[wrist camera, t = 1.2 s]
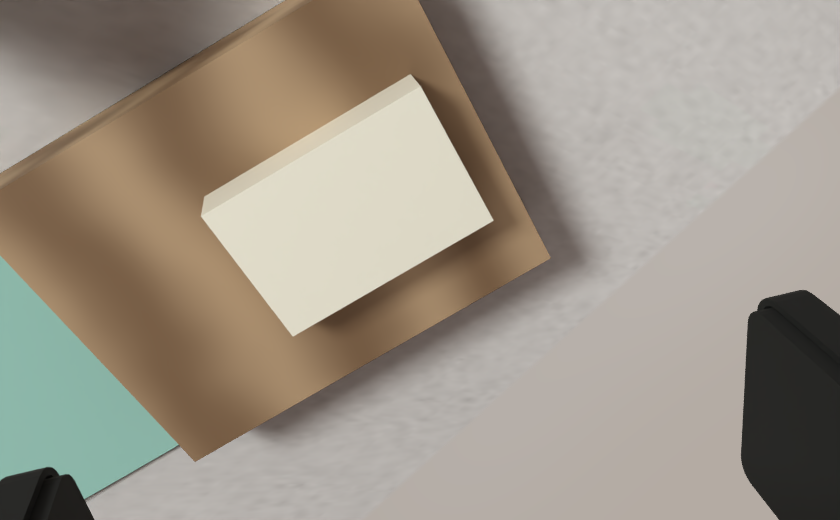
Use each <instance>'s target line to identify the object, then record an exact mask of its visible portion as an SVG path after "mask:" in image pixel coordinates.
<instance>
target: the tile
mask: <svg viewBox="0 0 840 520" xmlns="http://www.w3.org/2000/svg"><path fill="white" fill-rule="evenodd" d="M201 217H202V218H203V220H204V221H205V222H206V224H207V225H208V226H209V228H210V229H211V230H212V232H213V233H214V234H215V235H216V237H217V238H218V239H219V241H220V242H221V243H222V245H223V246H224V247H225V249H226V250H227V251H228V253H229V254H230V255H231V256H232V258H233V259H234V260H235V262H236V263H237V264H238V266H239V267H240V268H241V270H242V271H243V272H244V273H245V275H246V276H247V277H248V279H249V280H250V281H251V283H252V284H253V285H254V287H255V288H256V289H257V290H258V292H259V293H260V294H261V296H262V297H263V298H264V300H265V301H266V302H267V304H268V305H269V306H270V308H271V309H272V310H273V311H274V313H275V314H276V315H277V317H278V318H279V319H280V321H281V322H282V323H283V325H284V326H285V327H286V328H287V330H288V331H289V332H290V334H291V335H292V336H295V335H297V334H298V333H300V332H302V331H304V330H305V329H307V328H309V327H311V326H312V325H314V324H316V323H317V322H319V321H321V320H323V319H324V318H326V317H328V316H330V315H331V314H333V313H335V312H336V311H338V310H340V309H342V308H343V307H345V306H347V305H349V304H350V303H352V302H354V301H355V300H357V299H359V298H361V297H362V296H364V295H366V294H368V293H369V292H371V291H373V290H375V289H376V288H378V287H380V286H381V285H383V284H385V283H387V282H388V281H390V280H392V279H394V278H395V277H397V276H399V275H400V274H402V273H404V272H406V271H407V270H409V269H411V268H413V267H414V266H416V265H418V264H419V263H421V262H423V261H425V260H426V259H428V258H430V257H432V256H433V255H435V254H437V253H439V252H440V251H442V250H444V249H445V248H447V247H449V246H451V245H452V244H454V243H456V242H458V241H459V240H461V239H463V238H464V237H466V236H468V235H470V234H471V233H473V232H475V231H477V230H478V229H480V228H482V227H483V226H485V225H487V224H489V223H490V222H492V221H494V220H493V219H492V217H491V215H490V213H489V211H488V209H487V207H486V206H485V204H484V202H483V200H482V198H481V196H480V195H479V193H478V191H477V189H476V187H475V185H474V184H473V182H472V180H471V178H470V176H469V174H468V172H467V171H466V169H465V167H464V165H463V163H462V161H461V160H460V158H459V156H458V154H457V152H456V150H455V149H454V147H453V145H452V143H451V141H450V139H449V137H448V136H447V134H446V132H445V130H444V128H443V126H442V125H441V123H440V121H439V119H438V117H437V115H436V114H435V112H434V110H433V108H432V106H431V104H430V102H429V101H428V99H427V97H426V95H425V93H424V91H423V90H422V88H421V86H420V85H419V84H418V82H417V81H416V80H415V79H414V78H413V76H412V75H411V74H410V75H408V76H406V77H405V78H403V79H401V80H400V81H398V82H396V83H395V84H393V85H391V86H389V87H388V88H386V89H384V90H383V91H381V92H379V93H378V94H376V95H374V96H373V97H371V98H369V99H368V100H366V101H364V102H363V103H361V104H359V105H358V106H356V107H354V108H352V109H351V110H349V111H347V112H346V113H344V114H342V115H341V116H339V117H337V118H336V119H334V120H332V121H331V122H329V123H327V124H326V125H324V126H322V127H321V128H319V129H317V130H315V131H314V132H312V133H310V134H309V135H307V136H305V137H304V138H302V139H300V140H299V141H297V142H295V143H294V144H292V145H290V146H289V147H287V148H285V149H284V150H282V151H280V152H278V153H277V154H275V155H273V156H272V157H270V158H268V159H267V160H265V161H263V162H262V163H260V164H258V165H257V166H255V167H253V168H252V169H250V170H248V171H247V172H245V173H243V174H241V175H240V176H238V177H236V178H235V179H233V180H231V181H230V182H228V183H226V184H225V185H223V186H221V187H220V188H218V189H216V190H215V191H213V192H211V193H209V194H208V195H206V196H204V201H203V207H202V213H201Z"/></svg>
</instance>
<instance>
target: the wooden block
mask: <svg viewBox="0 0 840 520" xmlns="http://www.w3.org/2000/svg"><path fill="white" fill-rule="evenodd" d="M410 74H411V75H412V76H413V78H414V79H415V80H416V81H417V82H418V84H419V85H420V86H421V88H422V90H423V91H424V93H425V95H426V97H427V99H428V101H429V102H430V104H431V106H432V108H433V110H434V112H435V114H436V115H437V117H438V119H439V121H440V123H441V125H442V126H443V128H444V130H445V132H446V134H447V136H448V137H449V139H450V141H451V143H452V145H453V147H454V149H455V150H456V152H457V154H458V156H459V158H460V160H461V161H462V163H463V165H464V167H465V169H466V171H467V172H468V174H469V176H470V178H471V180H472V182H473V184H474V185H475V187H476V189H477V191H478V193H479V195H480V196H481V198H482V200H483V202H484V204H485V206H486V207H487V209H488V211H489V213H490V215H491V217H492V219H493V220H494V221H492V222H490V223H489V224H487V225H485V226H483V227H482V228H480V229H478V230H477V231H475V232H473V233H471V234H470V235H468V236H466V237H464V238H463V239H461V240H459V241H458V242H456V243H454V244H452V245H451V246H449V247H447V248H445V249H444V250H442V251H440V252H439V253H437V254H435V255H433V256H432V257H430V258H428V259H426V260H425V261H423V262H421V263H419V264H418V265H416V266H414V267H413V268H411V269H409V270H407V271H406V272H404V273H402V274H400V275H399V276H397V277H395V278H394V279H392V280H390V281H388V282H387V283H385V284H383V285H381V286H380V287H378V288H376V289H375V290H373V291H371V292H369V293H368V294H366V295H364V296H362V297H361V298H359V299H357V300H355V301H354V302H352V303H350V304H349V305H347V306H345V307H343V308H342V309H340V310H338V311H336V312H335V313H333V314H331V315H330V316H328V317H326V318H324V319H323V320H321V321H319V322H317V323H316V324H314V325H312V326H311V327H309V328H307V329H305V330H304V331H302V332H300V333H298V334H297V335H295V336H292V335H291V334H290V332H289V331H288V330H287V328H286V327H285V326H284V325H283V323H282V322H281V321H280V319H279V318H278V317H277V315H276V314H275V313H274V311H273V310H272V309H271V308H270V306H269V305H268V304H267V302H266V301H265V300H264V298H263V297H262V296H261V294H260V293H259V292H258V290H257V289H256V288H255V287H254V285H253V284H252V283H251V281H250V280H249V279H248V277H247V276H246V275H245V273H244V272H243V271H242V270H241V268H240V267H239V266H238V264H237V263H236V262H235V260H234V259H233V258H232V256H231V255H230V254H229V253H228V251H227V250H226V249H225V247H224V246H223V245H222V243H221V242H220V241H219V239H218V238H217V237H216V235H215V234H214V233H213V232H212V230H211V229H210V228H209V226H208V225H207V224H206V222H205V221H204V220H203V218H202V217H201V213H202V207H203V201H204V196H206V195H208V194H209V193H211V192H213V191H215V190H216V189H218V188H220V187H221V186H223V185H225V184H226V183H228V182H230V181H231V180H233V179H235V178H236V177H238V176H240V175H241V174H243V173H245V172H247V171H248V170H250V169H252V168H253V167H255V166H257V165H258V164H260V163H262V162H263V161H265V160H267V159H268V158H270V157H272V156H273V155H275V154H277V153H278V152H280V151H282V150H284V149H285V148H287V147H289V146H290V145H292V144H294V143H295V142H297V141H299V140H300V139H302V138H304V137H305V136H307V135H309V134H310V133H312V132H314V131H315V130H317V129H319V128H321V127H322V126H324V125H326V124H327V123H329V122H331V121H332V120H334V119H336V118H337V117H339V116H341V115H342V114H344V113H346V112H347V111H349V110H351V109H352V108H354V107H356V106H358V105H359V104H361V103H363V102H364V101H366V100H368V99H369V98H371V97H373V96H374V95H376V94H378V93H379V92H381V91H383V90H384V89H386V88H388V87H389V86H391V85H393V84H395V83H396V82H398V81H400V80H401V79H403V78H405V77H406V76H408V75H410ZM0 256H1V257H2V258H3V259H4V260H5V261H6V262H7V263H8V264H9V265H10V266H11V267H12V269H13V270H14V271H15V272H16V273H17V274H18V275H19V276H20V277H21V278H22V279H23V280H24V281H25V282H26V283H27V284H28V285H29V287H30V288H31V289H32V290H33V291H34V292H35V293H36V294H37V295H38V296H39V297H40V298H41V299H42V300H43V301H44V302H45V303H46V305H47V306H48V307H49V308H50V309H51V310H52V311H53V312H54V313H55V314H56V315H57V316H58V317H59V318H60V319H61V320H62V321H63V323H64V324H65V325H66V326H67V327H68V328H69V329H70V330H71V331H72V332H73V333H74V334H75V335H76V336H77V337H78V338H79V339H80V341H81V342H82V343H83V344H84V345H85V346H86V347H87V348H88V349H89V350H90V351H91V352H92V353H93V354H94V355H95V356H96V358H97V359H98V360H99V361H100V362H101V363H102V364H103V365H104V366H105V367H106V368H107V369H108V370H109V371H110V372H111V373H112V374H113V376H114V377H115V378H116V379H117V380H118V381H119V382H120V383H121V384H122V385H123V386H124V387H125V388H126V389H127V390H128V391H129V392H130V394H131V395H132V396H133V397H134V398H135V399H136V400H137V401H138V402H139V403H140V404H141V405H142V406H143V407H144V408H145V409H146V410H147V412H148V413H149V414H150V415H151V416H152V417H153V418H154V419H155V420H156V421H157V422H158V423H159V424H160V425H161V426H162V427H163V428H164V430H165V431H166V432H167V433H168V434H169V435H170V436H171V437H172V438H173V439H174V440H175V441H176V442H177V443H178V444H179V445H180V446H181V448H182V449H183V450H184V451H185V452H186V453H187V454H188V455H189V456H190V457H191V458H192V459H193V460H194V461H195V462H196V461H197V460H199V459H201V458H203V457H204V456H206V455H208V454H210V453H211V452H213V451H215V450H217V449H218V448H220V447H222V446H224V445H225V444H227V443H229V442H231V441H232V440H234V439H236V438H238V437H239V436H241V435H243V434H245V433H246V432H248V431H250V430H252V429H253V428H255V427H257V426H259V425H260V424H262V423H264V422H266V421H267V420H269V419H271V418H273V417H274V416H276V415H278V414H280V413H281V412H283V411H285V410H286V409H288V408H290V407H292V406H293V405H295V404H297V403H299V402H300V401H302V400H304V399H306V398H307V397H309V396H311V395H313V394H314V393H316V392H318V391H320V390H321V389H323V388H325V387H327V386H328V385H330V384H332V383H334V382H335V381H337V380H339V379H341V378H342V377H344V376H346V375H348V374H349V373H351V372H353V371H355V370H356V369H358V368H360V367H362V366H363V365H365V364H367V363H369V362H370V361H372V360H374V359H376V358H377V357H379V356H381V355H383V354H384V353H386V352H388V351H390V350H391V349H393V348H395V347H397V346H398V345H400V344H402V343H404V342H405V341H407V340H409V339H411V338H412V337H414V336H416V335H418V334H419V333H421V332H423V331H425V330H426V329H428V328H430V327H432V326H433V325H435V324H437V323H439V322H440V321H442V320H444V319H446V318H447V317H449V316H451V315H453V314H454V313H456V312H458V311H460V310H461V309H463V308H465V307H466V306H468V305H470V304H472V303H473V302H475V301H477V300H479V299H480V298H482V297H484V296H486V295H487V294H489V293H491V292H493V291H494V290H496V289H498V288H500V287H501V286H503V285H505V284H507V283H508V282H510V281H512V280H514V279H515V278H517V277H519V276H521V275H522V274H524V273H526V272H528V271H529V270H531V269H533V268H535V267H536V266H538V265H540V264H542V263H543V262H545V261H547V260H549V259H550V258H551V257H550V255H549V253H548V252H547V250H546V248H545V246H544V244H543V242H542V240H541V238H540V236H539V234H538V232H537V230H536V228H535V226H534V224H533V222H532V220H531V218H530V217H529V215H528V213H527V211H526V209H525V207H524V205H523V203H522V201H521V199H520V197H519V195H518V193H517V191H516V189H515V187H514V185H513V183H512V182H511V180H510V178H509V176H508V174H507V172H506V170H505V168H504V166H503V164H502V162H501V160H500V158H499V156H498V154H497V152H496V150H495V148H494V147H493V145H492V143H491V141H490V139H489V137H488V135H487V133H486V131H485V129H484V127H483V125H482V123H481V121H480V119H479V117H478V115H477V113H476V112H475V110H474V108H473V106H472V104H471V102H470V100H469V98H468V96H467V94H466V92H465V90H464V88H463V86H462V84H461V82H460V80H459V78H458V77H457V75H456V73H455V71H454V69H453V67H452V65H451V63H450V61H449V59H448V57H447V55H446V53H445V51H444V49H443V47H442V45H441V43H440V41H439V40H438V38H437V36H436V34H435V32H434V30H433V28H432V26H431V24H430V22H429V20H428V18H427V16H426V14H425V12H424V10H423V8H422V6H421V5H420V3H419V1H418V0H285V1H284V2H282V3H280V4H279V5H277V6H275V7H274V8H272V9H270V10H269V11H267V12H265V13H264V14H262V15H261V16H259V17H257V18H256V19H254V20H252V21H251V22H249V23H247V24H246V25H244V26H242V27H241V28H239V29H237V30H236V31H234V32H233V33H231V34H229V35H228V36H226V37H224V38H223V39H221V40H219V41H218V42H216V43H214V44H213V45H211V46H209V47H208V48H206V49H205V50H203V51H201V52H200V53H198V54H196V55H195V56H193V57H191V58H190V59H188V60H186V61H185V62H183V63H181V64H180V65H178V66H177V67H175V68H173V69H172V70H170V71H168V72H167V73H165V74H163V75H162V76H160V77H158V78H157V79H155V80H153V81H152V82H150V83H149V84H147V85H145V86H144V87H142V88H140V89H139V90H137V91H135V92H134V93H132V94H130V95H129V96H127V97H125V98H124V99H122V100H121V101H119V102H117V103H116V104H114V105H112V106H111V107H109V108H107V109H106V110H104V111H102V112H101V113H99V114H97V115H96V116H94V117H93V118H91V119H89V120H88V121H86V122H84V123H83V124H81V125H79V126H78V127H76V128H74V129H73V130H71V131H69V132H68V133H66V134H65V135H63V136H61V137H60V138H58V139H56V140H55V141H53V142H51V143H50V144H48V145H46V146H45V147H43V148H41V149H40V150H38V151H37V152H35V153H33V154H32V155H30V156H28V157H27V158H25V159H23V160H22V161H20V162H18V163H17V164H15V165H13V166H12V167H10V168H9V169H7V170H5V171H4V172H2V173H0Z"/></svg>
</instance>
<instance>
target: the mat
mask: <svg viewBox="0 0 840 520" xmlns="http://www.w3.org/2000/svg"><path fill="white" fill-rule="evenodd" d="M178 445H179V444H178V443H177V442H176V441H175V440H174V439H173V438H172V437H171V436H170V435H169V434H168V433H167V432H166V431H165V430H164V428H163V427H162V426H161V425H160V424H159V423H158V422H157V421H156V420H155V419H154V418H153V417H152V416H151V415H150V414H149V413H148V412H147V410H146V409H145V408H144V407H143V406H142V405H141V404H140V403H139V402H138V401H137V400H136V399H135V398H134V397H133V396H132V395H131V394H130V392H129V391H128V390H127V389H126V388H125V387H124V386H123V385H122V384H121V383H120V382H119V381H118V380H117V379H116V378H115V377H114V376H113V374H112V373H111V372H110V371H109V370H108V369H107V368H106V367H105V366H104V365H103V364H102V363H101V362H100V361H99V360H98V359H97V358H96V356H95V355H94V354H93V353H92V352H91V351H90V350H89V349H88V348H87V347H86V346H85V345H84V344H83V343H82V342H81V341H80V339H79V338H78V337H77V336H76V335H75V334H74V333H73V332H72V331H71V330H70V329H69V328H68V327H67V326H66V325H65V324H64V323H63V321H62V320H61V319H60V318H59V317H58V316H57V315H56V314H55V313H54V312H53V311H52V310H51V309H50V308H49V307H48V306H47V305H46V303H45V302H44V301H43V300H42V299H41V298H40V297H39V296H38V295H37V294H36V293H35V292H34V291H33V290H32V289H31V288H30V287H29V285H28V284H27V283H26V282H25V281H24V280H23V279H22V278H21V277H20V276H19V275H18V274H17V273H16V272H15V271H14V270H13V269H12V267H11V266H10V265H9V264H8V263H7V262H6V261H5V260H4V259H3V258H2V257H1V256H0V481H1V479H3V478H5V477H7V476H11V475H15V474H19V473H24V472H28V471H32V470H36V469H41V468H45V467H52V468H54V469H55V470H56V471H57V472H58V474H59V475H64V474H69V475H70V476H72V477H73V479H74V480H75V482H76V484H77V486H78V488H79V490H80V492H81V494H82V496H83V498H84V499H86V498H87V497H89V496H91V495H93V494H94V493H96V492H98V491H99V490H101V489H103V488H105V487H106V486H108V485H110V484H112V483H113V482H115V481H117V480H119V479H120V478H122V477H124V476H126V475H127V474H129V473H131V472H133V471H134V470H136V469H138V468H140V467H141V466H143V465H145V464H147V463H148V462H150V461H152V460H153V459H155V458H157V457H159V456H160V455H162V454H164V453H166V452H167V451H169V450H171V449H173V448H174V447H176V446H178Z"/></svg>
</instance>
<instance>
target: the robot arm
mask: <svg viewBox="0 0 840 520" xmlns="http://www.w3.org/2000/svg"><path fill="white" fill-rule="evenodd" d="M745 370H746V371H745V389H744V409H743V429H742V447H741V461H742V465H743V469H744V472H745V474H746V476H747V478H748V479H749V481H750V483H751V484H752V486H753V487H754V488H755V489H756V491H757V492H758V493H759V495H760V496H761V497H762V498H763V500H764V501H765V502H766V504H767V505H768V506H769V507H770V509H771V510H772V511H773V512H774V514H775V515H776V516H777V518H778V519H779V520H840V315H839V314H837V313H836V312H835V311H834V310H832V309H831V308H830V307H829V306H827V305H826V304H825V303H824V302H822V301H821V300H820V299H818V298H817V297H816V296H815V295H813V294H812V293H810V292H808V291H806V290H799V291H795V292H790V293H786V294H782V295H778V296H774V297H769V298H765V299H763V300H762V301H761V302H760V303H759V305H758V309H757V311H755V312H753V313H751V314H750V316H749V319H748V331H747V350H746V369H745ZM0 520H94V518H93V516H92V514H91V512H90V510H89V508H88V506H87V504H86V502H85V500H84V498H83V496H82V494H81V492H80V490H79V488H78V486H77V484H76V482H75V480H74V479H73V477H72V476H70V475H69V474H64V475H59V474H58V472H57V471H56V470H55V469H54V468H52V467H45V468H41V469H36V470H32V471H28V472H24V473H19V474H15V475H11V476H7V477H5V478H3V479H1V481H0Z"/></svg>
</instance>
